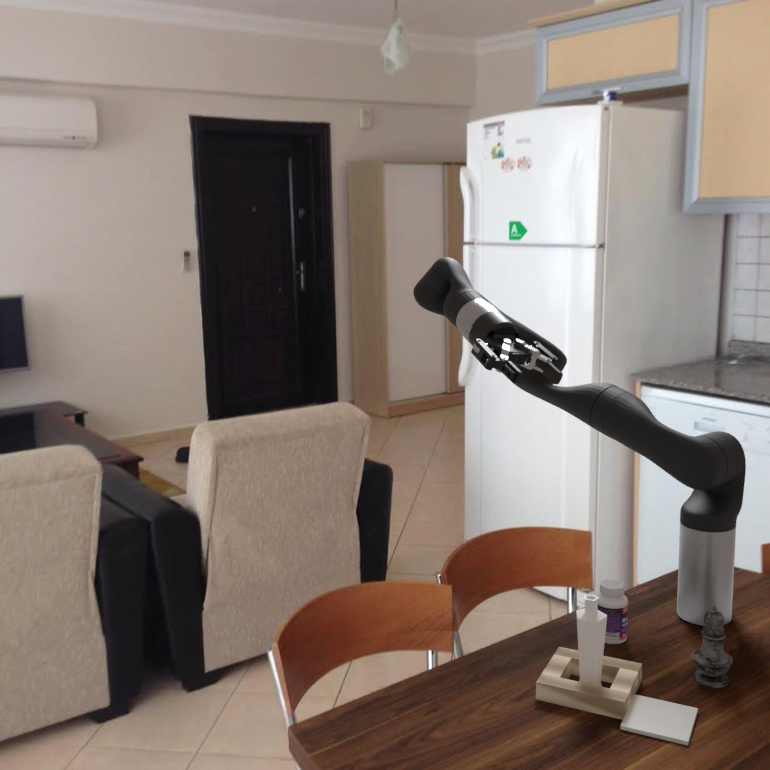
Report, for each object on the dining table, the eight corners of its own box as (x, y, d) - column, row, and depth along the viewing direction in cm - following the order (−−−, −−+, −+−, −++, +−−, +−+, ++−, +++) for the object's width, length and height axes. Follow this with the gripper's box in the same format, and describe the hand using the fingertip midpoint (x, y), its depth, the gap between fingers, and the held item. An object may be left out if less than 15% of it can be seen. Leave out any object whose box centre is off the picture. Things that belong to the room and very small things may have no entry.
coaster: (634, 697, 128) (634, 694, 128) (697, 712, 124) (697, 708, 124) (620, 729, 120) (620, 725, 120) (688, 745, 116) (688, 741, 116)
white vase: (607, 685, 132) (609, 593, 129) (602, 700, 128) (604, 605, 125) (577, 679, 134) (579, 588, 131) (571, 693, 130) (572, 600, 127)
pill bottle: (628, 646, 144) (630, 591, 142) (595, 644, 145) (596, 589, 143) (625, 631, 149) (626, 578, 147) (593, 629, 150) (594, 576, 148)
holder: (559, 662, 139) (559, 646, 138) (641, 680, 133) (642, 663, 132) (535, 699, 128) (536, 682, 128) (624, 720, 122) (624, 702, 122)
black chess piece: (735, 690, 129) (738, 615, 127) (693, 687, 131) (696, 613, 128) (727, 670, 135) (731, 598, 133) (688, 667, 136) (691, 596, 134)
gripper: (510, 348, 155) (563, 399, 143) (445, 346, 147) (496, 399, 135) (525, 312, 151) (581, 360, 140) (460, 307, 144) (513, 358, 132)
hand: (539, 379), depth 138 cm, fingers open, 8 cm apart
